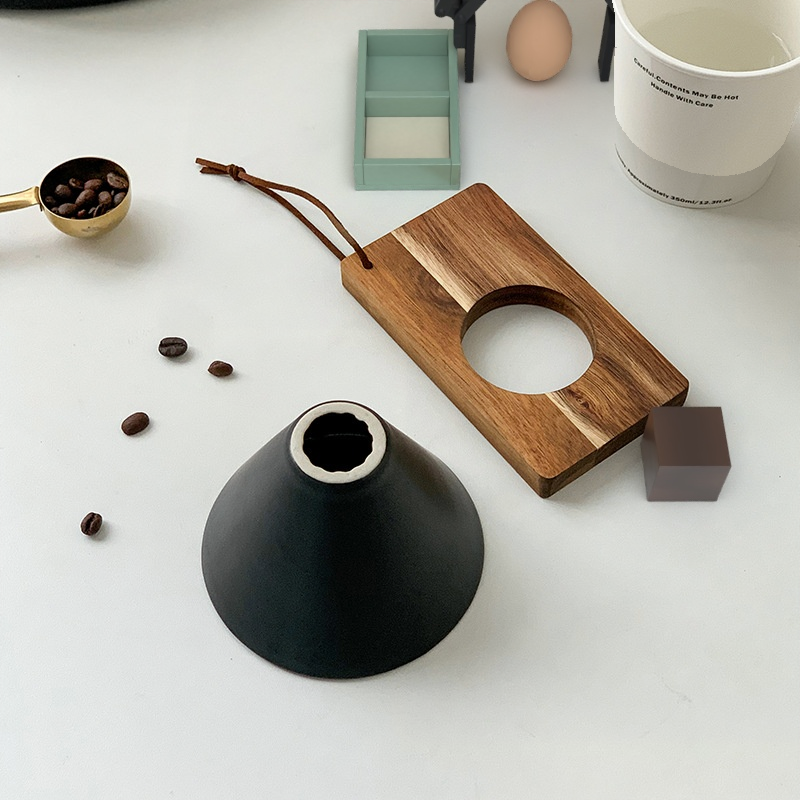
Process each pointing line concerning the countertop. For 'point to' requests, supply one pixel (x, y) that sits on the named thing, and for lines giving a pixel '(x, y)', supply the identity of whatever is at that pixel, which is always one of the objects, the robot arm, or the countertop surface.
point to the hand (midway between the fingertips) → (535, 72)
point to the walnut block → (685, 454)
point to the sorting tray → (407, 111)
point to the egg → (539, 40)
